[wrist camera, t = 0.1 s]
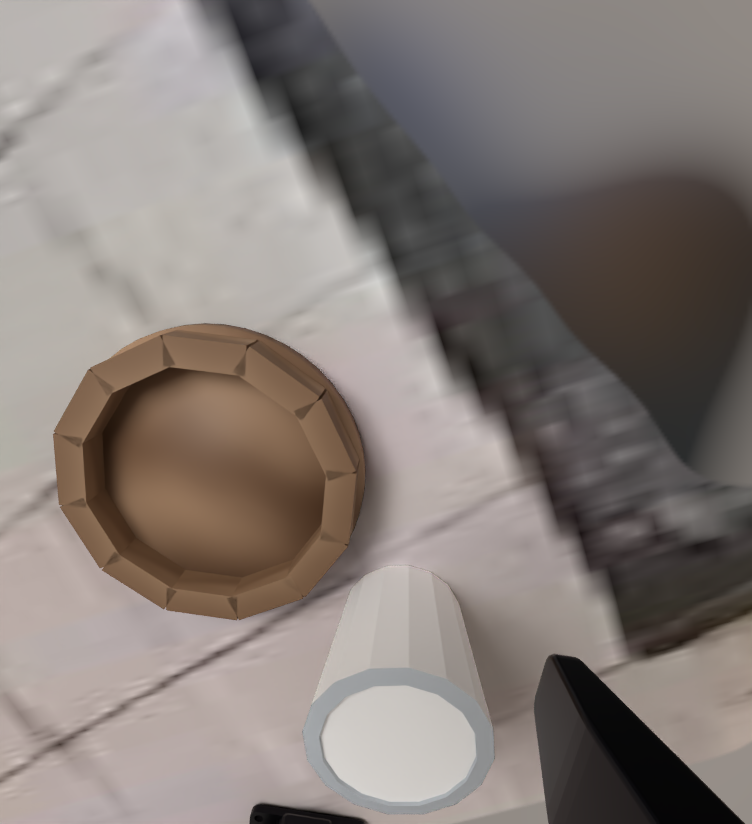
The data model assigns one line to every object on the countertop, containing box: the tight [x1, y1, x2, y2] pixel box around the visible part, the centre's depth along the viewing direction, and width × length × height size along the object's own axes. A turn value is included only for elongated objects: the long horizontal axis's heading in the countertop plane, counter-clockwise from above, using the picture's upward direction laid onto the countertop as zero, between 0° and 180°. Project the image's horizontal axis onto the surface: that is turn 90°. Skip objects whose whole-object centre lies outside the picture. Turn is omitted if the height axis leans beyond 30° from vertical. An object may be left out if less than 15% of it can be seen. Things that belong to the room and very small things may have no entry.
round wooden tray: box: [53, 323, 365, 620], centre depth 22 cm, size 13×13×2 cm
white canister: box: [302, 565, 495, 814], centre depth 21 cm, size 7×7×7 cm
